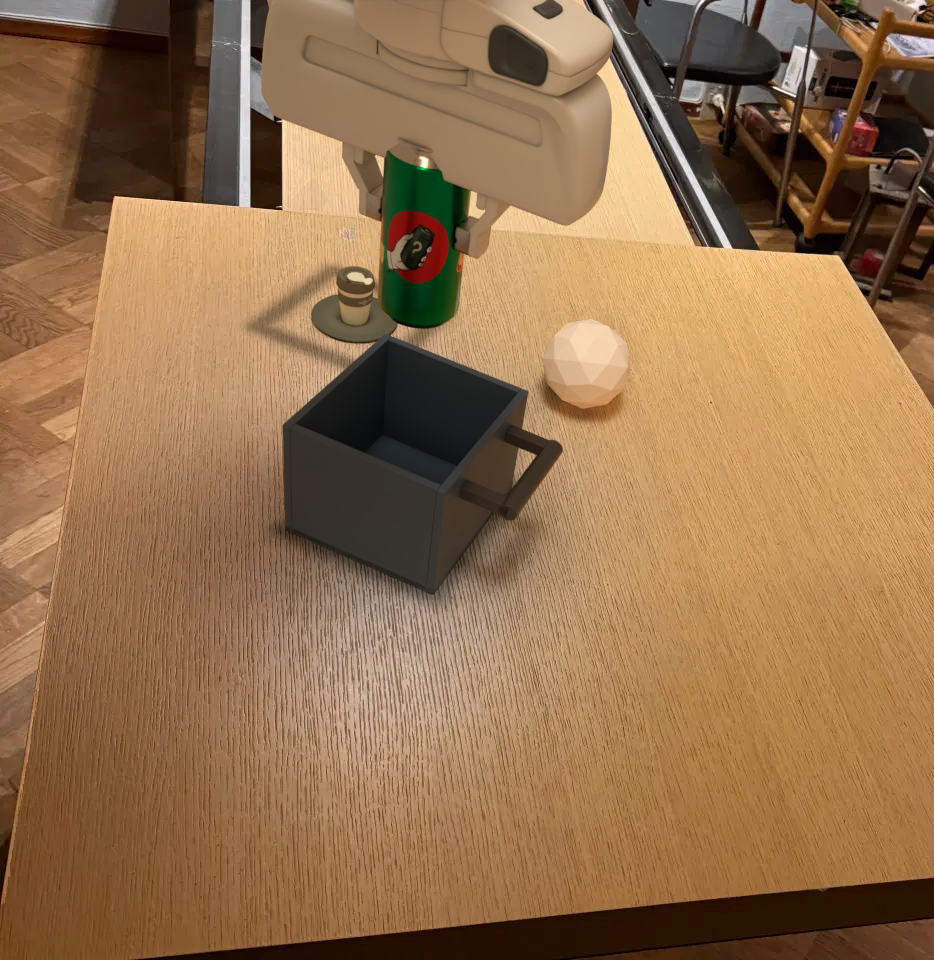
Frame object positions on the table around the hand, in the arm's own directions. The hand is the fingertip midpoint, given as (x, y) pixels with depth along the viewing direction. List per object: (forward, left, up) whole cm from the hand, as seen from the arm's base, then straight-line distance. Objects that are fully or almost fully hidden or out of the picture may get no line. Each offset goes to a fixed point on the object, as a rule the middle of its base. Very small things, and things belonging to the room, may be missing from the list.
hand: (424, 233), depth 61 cm
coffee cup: (+19, +16, -24) cm, 35 cm away
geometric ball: (+21, -6, -24) cm, 33 cm away
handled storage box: (0, -2, -24) cm, 24 cm away
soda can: (0, 0, -6) cm, 6 cm away
